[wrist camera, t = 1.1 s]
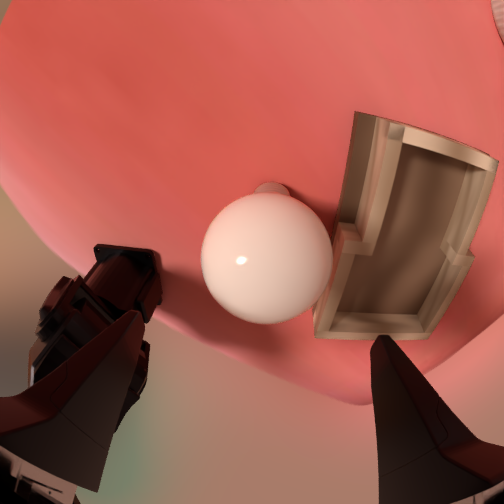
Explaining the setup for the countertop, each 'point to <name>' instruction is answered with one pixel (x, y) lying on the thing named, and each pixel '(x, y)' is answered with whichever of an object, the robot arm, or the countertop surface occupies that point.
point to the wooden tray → (401, 231)
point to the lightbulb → (266, 256)
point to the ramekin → (498, 16)
